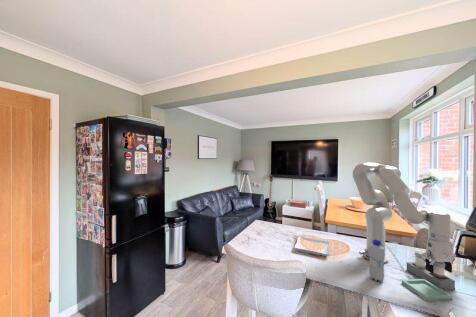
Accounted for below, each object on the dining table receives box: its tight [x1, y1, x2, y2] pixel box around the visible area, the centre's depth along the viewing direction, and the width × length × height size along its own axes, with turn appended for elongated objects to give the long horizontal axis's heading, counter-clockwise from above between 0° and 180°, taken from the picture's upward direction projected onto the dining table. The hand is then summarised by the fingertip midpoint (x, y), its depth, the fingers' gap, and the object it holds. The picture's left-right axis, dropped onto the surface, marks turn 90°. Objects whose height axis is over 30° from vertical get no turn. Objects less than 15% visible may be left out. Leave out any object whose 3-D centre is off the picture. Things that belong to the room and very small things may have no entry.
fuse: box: [414, 250, 426, 269], centre depth 105 cm, size 4×4×11 cm
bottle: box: [368, 240, 386, 283], centre depth 100 cm, size 7×7×20 cm
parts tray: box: [401, 278, 453, 302], centre depth 91 cm, size 12×12×2 cm
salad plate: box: [294, 236, 331, 257], centre depth 132 cm, size 21×21×3 cm
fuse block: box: [406, 261, 456, 290], centre depth 100 cm, size 17×8×4 cm, turn 4°
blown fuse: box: [432, 261, 446, 279], centre depth 96 cm, size 4×4×11 cm
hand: (438, 271), depth 96 cm, fingers open, 9 cm apart
